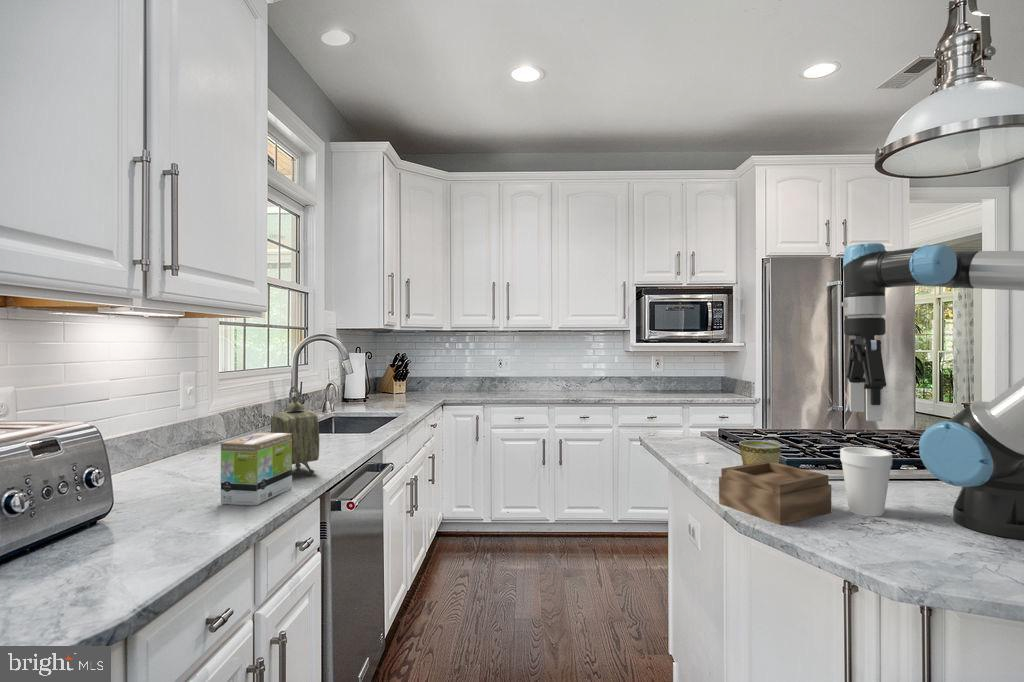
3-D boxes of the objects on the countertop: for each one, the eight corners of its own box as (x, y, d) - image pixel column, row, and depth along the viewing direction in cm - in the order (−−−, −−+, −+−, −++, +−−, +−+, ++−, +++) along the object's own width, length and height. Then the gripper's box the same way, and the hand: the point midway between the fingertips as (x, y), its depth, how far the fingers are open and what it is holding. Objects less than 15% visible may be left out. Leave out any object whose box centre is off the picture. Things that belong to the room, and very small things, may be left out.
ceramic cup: (768, 490, 137) (768, 449, 137) (731, 481, 145) (731, 443, 145) (795, 481, 145) (795, 442, 144) (758, 473, 153) (758, 437, 152)
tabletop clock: (320, 475, 157) (318, 387, 156) (287, 481, 151) (285, 389, 151) (301, 466, 168) (300, 383, 167) (270, 471, 162) (268, 386, 162)
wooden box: (831, 512, 120) (831, 475, 120) (780, 524, 113) (780, 485, 113) (768, 493, 134) (767, 460, 134) (719, 503, 127) (718, 468, 127)
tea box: (258, 506, 130) (257, 443, 130) (219, 505, 131) (218, 442, 131) (293, 488, 145) (292, 431, 144) (258, 487, 146) (257, 431, 146)
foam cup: (830, 508, 122) (830, 449, 122) (857, 502, 126) (857, 445, 126) (874, 521, 114) (874, 458, 114) (902, 514, 118) (902, 453, 117)
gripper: (831, 318, 132) (832, 407, 133) (859, 316, 109) (860, 424, 109) (868, 317, 130) (869, 408, 130) (904, 315, 106) (905, 426, 107)
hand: (865, 416), depth 120 cm, fingers open, 13 cm apart
